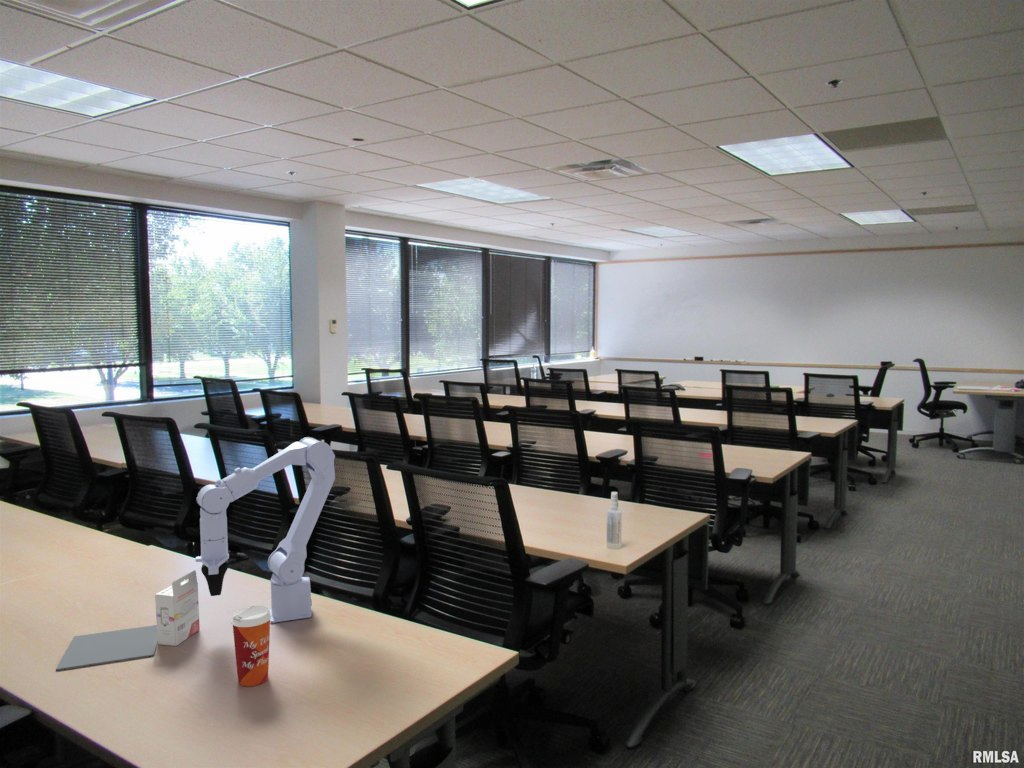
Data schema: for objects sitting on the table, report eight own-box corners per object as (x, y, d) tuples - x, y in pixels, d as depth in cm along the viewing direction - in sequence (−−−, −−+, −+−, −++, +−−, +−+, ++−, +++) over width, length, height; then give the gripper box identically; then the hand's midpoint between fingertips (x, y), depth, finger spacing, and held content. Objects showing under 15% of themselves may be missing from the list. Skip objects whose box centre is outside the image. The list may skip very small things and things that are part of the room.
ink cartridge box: (181, 628, 160) (179, 567, 159) (200, 630, 159) (198, 569, 158) (156, 644, 152) (153, 580, 150) (175, 646, 151) (173, 582, 150)
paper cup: (249, 693, 132) (247, 623, 130) (224, 682, 136) (222, 614, 135) (282, 676, 138) (280, 609, 137) (257, 666, 142) (255, 601, 141)
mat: (162, 625, 161) (162, 624, 161) (153, 656, 146) (153, 654, 146) (74, 638, 155) (74, 636, 155) (55, 671, 140) (55, 669, 140)
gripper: (197, 530, 162) (198, 585, 163) (192, 548, 148) (194, 609, 149) (229, 527, 164) (230, 581, 165) (227, 545, 151) (229, 604, 152)
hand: (215, 594), depth 158 cm, fingers closed
